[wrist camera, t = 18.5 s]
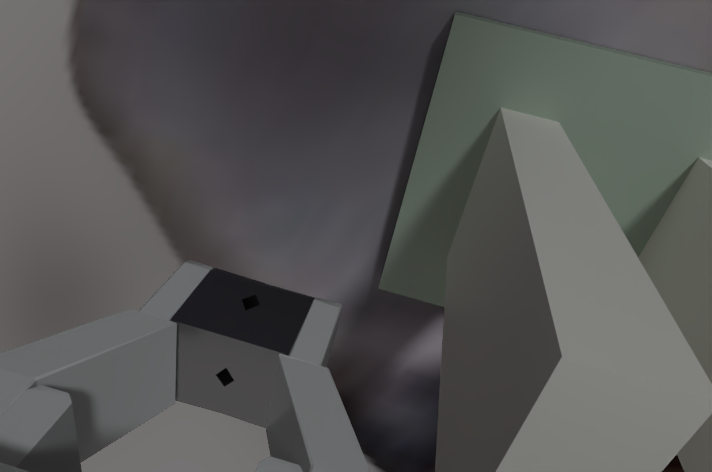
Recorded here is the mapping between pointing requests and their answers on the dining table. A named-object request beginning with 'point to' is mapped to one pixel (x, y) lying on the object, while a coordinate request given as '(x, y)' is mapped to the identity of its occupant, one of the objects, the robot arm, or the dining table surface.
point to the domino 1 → (556, 325)
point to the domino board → (557, 103)
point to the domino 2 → (688, 284)
